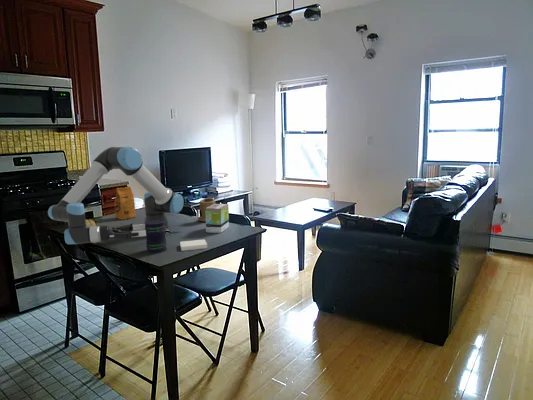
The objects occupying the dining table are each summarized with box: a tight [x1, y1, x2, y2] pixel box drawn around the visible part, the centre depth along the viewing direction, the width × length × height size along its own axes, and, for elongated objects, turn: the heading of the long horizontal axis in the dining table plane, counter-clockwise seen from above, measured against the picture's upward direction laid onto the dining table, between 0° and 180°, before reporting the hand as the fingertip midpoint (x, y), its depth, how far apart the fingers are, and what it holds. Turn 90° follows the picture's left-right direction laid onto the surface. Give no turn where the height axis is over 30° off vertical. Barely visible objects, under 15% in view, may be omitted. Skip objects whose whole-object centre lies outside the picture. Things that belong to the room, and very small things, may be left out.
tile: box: [179, 238, 208, 252], centre depth 208 cm, size 2×10×13 cm
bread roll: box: [85, 218, 97, 227], centre depth 244 cm, size 10×15×8 cm, turn 44°
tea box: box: [205, 203, 230, 234], centre depth 241 cm, size 15×10×15 cm, turn 168°
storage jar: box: [144, 220, 168, 254], centre depth 202 cm, size 10×10×15 cm
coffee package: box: [114, 185, 137, 220], centre depth 280 cm, size 10×12×22 cm
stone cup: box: [197, 197, 216, 222], centre depth 266 cm, size 15×12×15 cm
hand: (146, 229), depth 200 cm, fingers open, 13 cm apart
